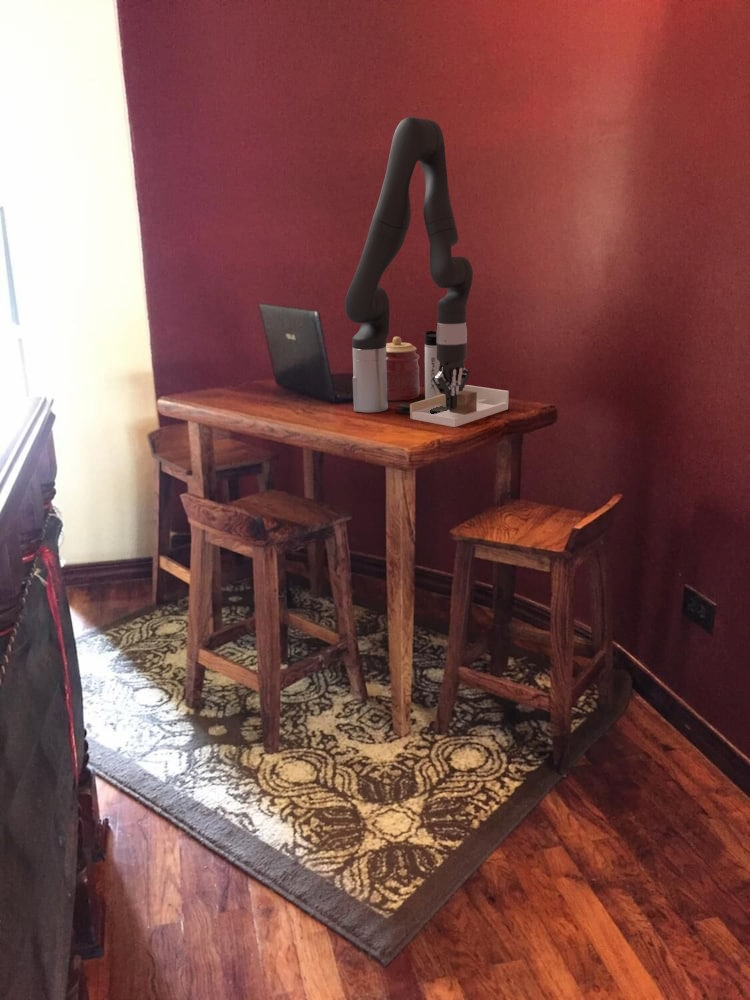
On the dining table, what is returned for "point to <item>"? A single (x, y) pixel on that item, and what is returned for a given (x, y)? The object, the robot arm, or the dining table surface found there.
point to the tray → (486, 405)
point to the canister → (402, 371)
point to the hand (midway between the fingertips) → (451, 409)
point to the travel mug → (431, 364)
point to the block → (466, 402)
